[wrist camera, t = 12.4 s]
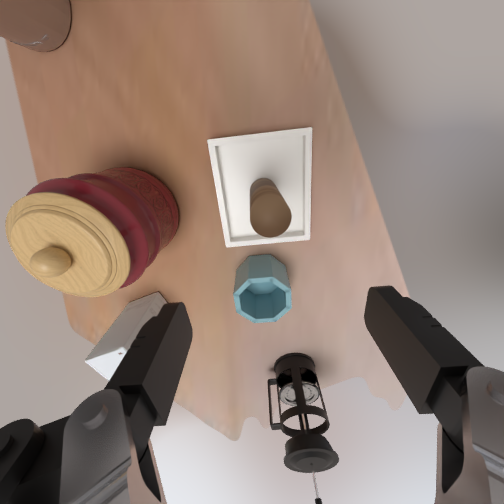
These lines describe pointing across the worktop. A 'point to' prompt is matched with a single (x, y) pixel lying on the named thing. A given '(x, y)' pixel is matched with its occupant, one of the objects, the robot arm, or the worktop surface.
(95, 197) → the canister
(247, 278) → the teal pot
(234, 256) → the worktop surface
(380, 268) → the worktop surface
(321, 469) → the french press
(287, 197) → the white tray
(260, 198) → the walnut peg
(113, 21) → the worktop surface
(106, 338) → the supplement box
